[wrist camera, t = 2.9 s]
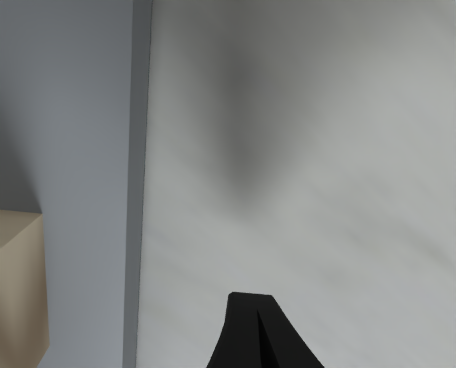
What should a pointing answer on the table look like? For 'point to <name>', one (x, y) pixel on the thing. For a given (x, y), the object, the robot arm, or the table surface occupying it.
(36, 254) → the beech block
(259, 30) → the table surface
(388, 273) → the table surface
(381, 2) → the table surface
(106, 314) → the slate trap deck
